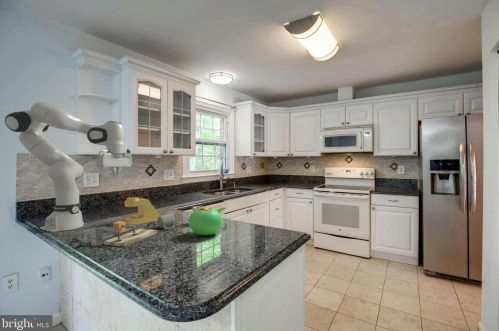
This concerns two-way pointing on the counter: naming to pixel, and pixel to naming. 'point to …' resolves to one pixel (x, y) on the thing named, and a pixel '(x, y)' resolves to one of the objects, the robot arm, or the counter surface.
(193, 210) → the mug
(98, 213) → the counter surface
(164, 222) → the ceramic mug
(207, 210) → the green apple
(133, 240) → the bolt plate
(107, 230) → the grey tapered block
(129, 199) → the clamp
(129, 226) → the sliding leg
